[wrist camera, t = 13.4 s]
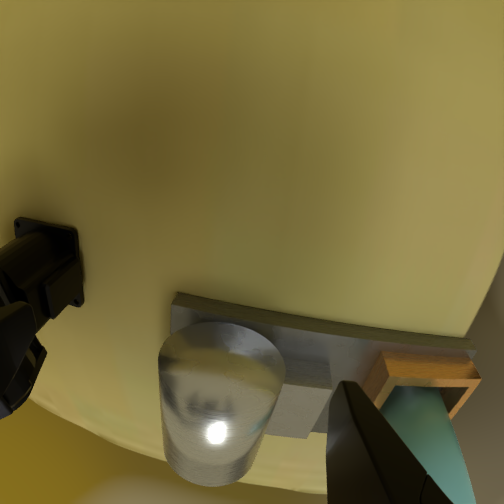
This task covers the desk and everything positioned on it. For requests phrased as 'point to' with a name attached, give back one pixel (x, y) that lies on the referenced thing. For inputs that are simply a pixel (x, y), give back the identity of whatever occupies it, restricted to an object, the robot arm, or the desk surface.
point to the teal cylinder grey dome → (430, 437)
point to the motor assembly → (281, 379)
